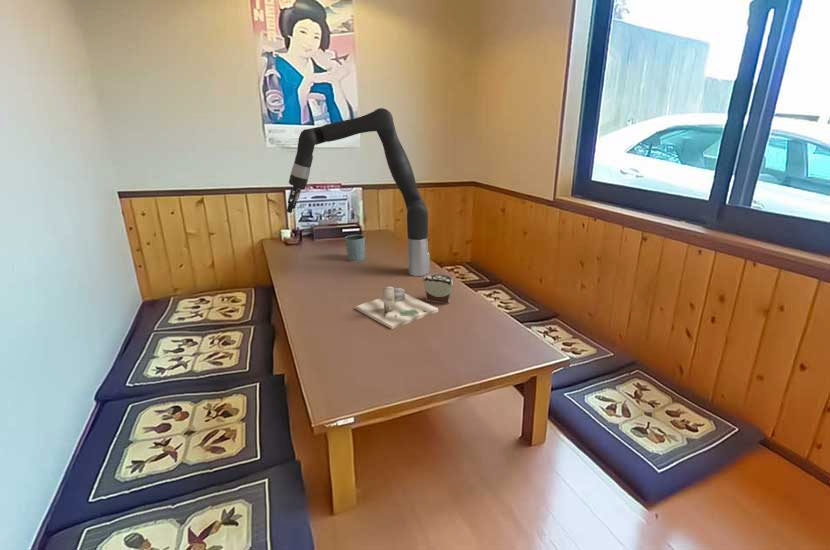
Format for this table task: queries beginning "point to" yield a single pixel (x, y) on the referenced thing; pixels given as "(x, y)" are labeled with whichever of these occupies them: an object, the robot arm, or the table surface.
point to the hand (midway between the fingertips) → (290, 210)
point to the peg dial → (392, 297)
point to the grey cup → (355, 247)
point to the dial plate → (397, 311)
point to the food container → (438, 287)
